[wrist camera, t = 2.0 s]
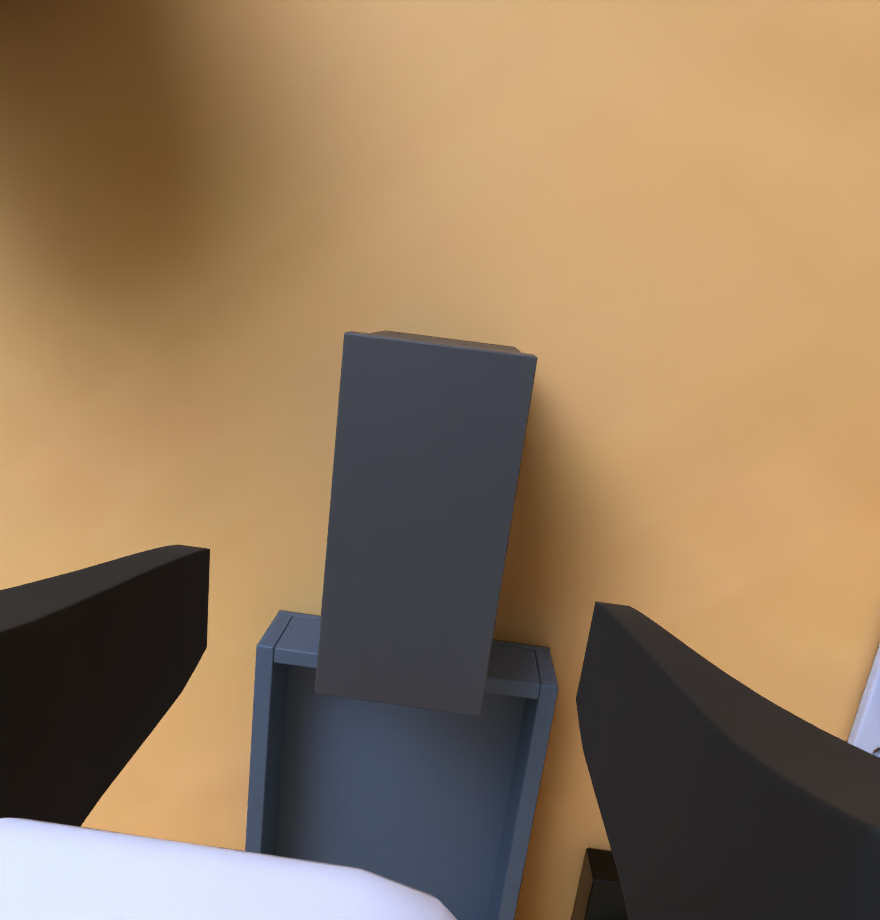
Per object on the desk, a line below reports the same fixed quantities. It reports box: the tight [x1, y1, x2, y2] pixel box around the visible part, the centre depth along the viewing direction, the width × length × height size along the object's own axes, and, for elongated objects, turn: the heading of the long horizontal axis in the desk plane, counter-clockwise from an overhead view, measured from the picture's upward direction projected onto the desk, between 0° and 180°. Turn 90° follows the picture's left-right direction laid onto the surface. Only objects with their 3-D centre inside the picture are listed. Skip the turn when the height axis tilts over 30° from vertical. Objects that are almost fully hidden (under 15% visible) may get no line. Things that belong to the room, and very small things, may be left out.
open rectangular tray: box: [245, 610, 558, 920], centre depth 23 cm, size 10×15×2 cm
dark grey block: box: [315, 331, 537, 716], centre depth 18 cm, size 5×10×6 cm, turn 173°
